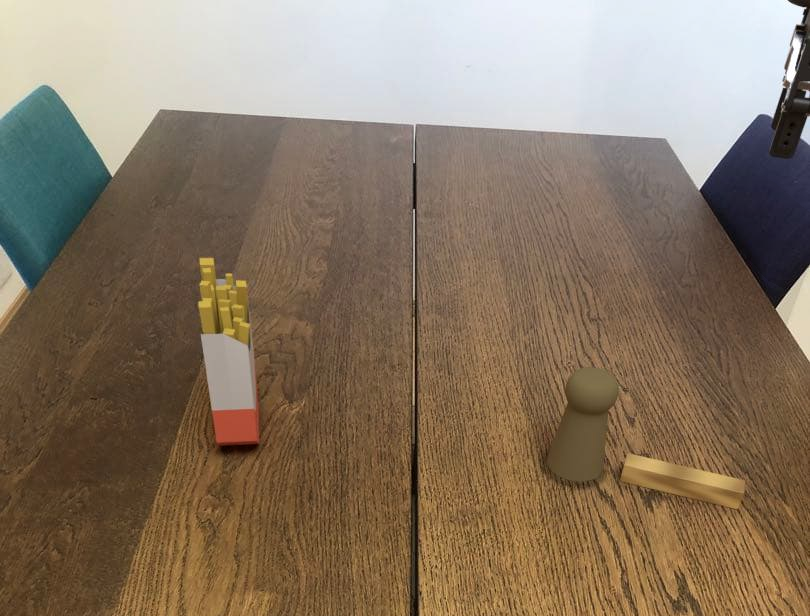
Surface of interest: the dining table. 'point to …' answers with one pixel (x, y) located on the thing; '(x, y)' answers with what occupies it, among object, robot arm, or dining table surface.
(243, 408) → the french fries container
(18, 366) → the dining table surface
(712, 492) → the golden stick
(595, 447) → the olive pawn
